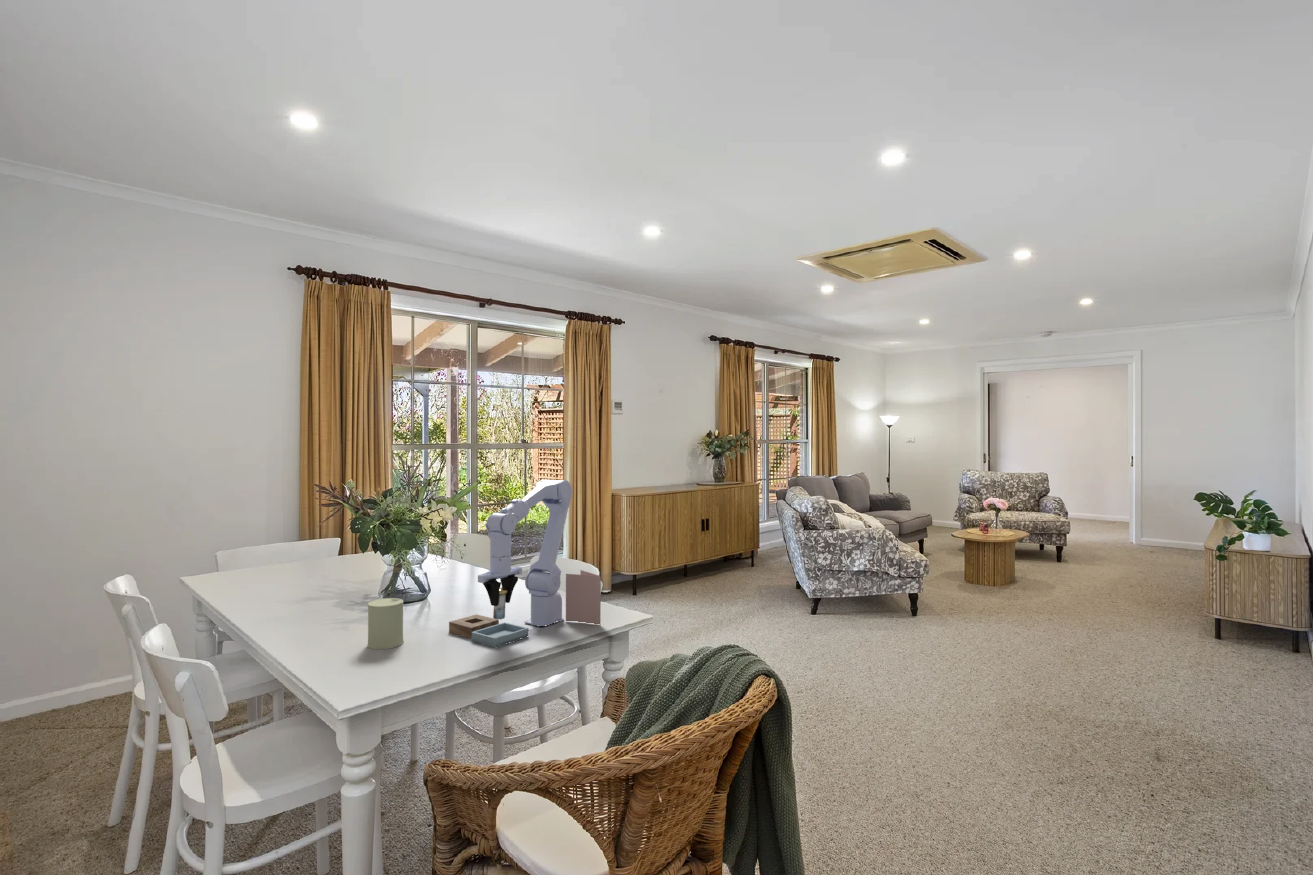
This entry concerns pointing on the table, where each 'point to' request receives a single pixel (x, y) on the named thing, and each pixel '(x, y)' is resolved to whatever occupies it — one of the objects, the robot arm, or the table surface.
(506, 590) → the pin
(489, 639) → the tray
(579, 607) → the greeting card
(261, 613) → the table surface
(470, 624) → the pin stand
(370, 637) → the can
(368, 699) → the table surface
